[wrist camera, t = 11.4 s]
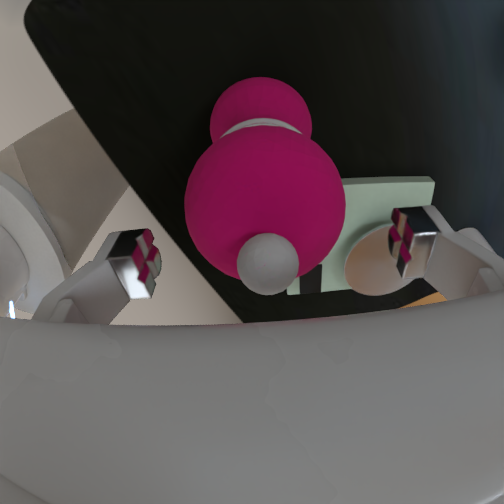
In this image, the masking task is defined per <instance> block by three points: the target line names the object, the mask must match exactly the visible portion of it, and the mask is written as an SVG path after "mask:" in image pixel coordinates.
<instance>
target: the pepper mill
mask: <svg viewBox="0 0 504 504" xmlns="http://www.w3.org/2000/svg"><path fill="white" fill-rule="evenodd" d="M311 132H312V122H311V116H310V113H309V110H308V108H307V105H306V103H305V102H304V100H303V98H302V97H301V96H300V94H299V93H298V92H297V91H296V90H294V89H293V88H292V87H291V86H289V85H288V84H286V83H284V82H282V81H279V80H276V79H272V78H266V77H254V78H249V79H245V80H242V81H239V82H237V83H236V84H234V85H232V86H230V87H229V88H228V89H227V90H226V91H225V92H223V93H222V95H221V96H220V97H219V99H218V100H217V102H216V104H215V106H214V108H213V112H212V115H211V120H210V134H211V138H212V142H213V144H212V145H211V146H210V147H209V148H208V149H207V150H206V151H205V152H204V153H203V154H202V155H201V157H200V158H199V160H198V161H197V162H196V164H195V167H194V169H193V171H192V173H191V175H190V177H189V179H188V184H187V188H186V193H185V204H184V205H185V217H186V224H187V227H188V230H189V234H190V236H191V238H192V240H193V242H194V244H195V245H196V247H197V249H198V251H199V252H200V253H201V254H202V255H203V256H204V257H205V258H206V259H207V260H208V261H209V262H210V263H211V264H212V265H213V266H214V267H216V268H217V269H219V270H220V271H222V272H223V273H225V274H227V275H229V276H232V277H235V278H237V279H240V280H242V282H243V283H244V284H245V285H246V286H247V287H248V288H249V289H250V290H252V291H254V292H256V293H259V294H263V295H273V294H276V293H279V292H282V291H284V290H285V289H286V288H287V287H289V286H290V285H291V284H292V283H293V281H294V279H295V278H297V277H299V276H301V275H303V274H306V273H307V272H309V271H310V270H311V269H313V268H314V267H315V266H317V265H318V264H319V263H321V262H322V261H323V260H324V258H325V257H326V256H327V255H328V254H329V253H330V251H331V250H332V248H333V247H334V245H335V243H336V242H337V240H338V238H339V236H340V233H341V231H342V228H343V225H344V220H345V210H346V200H345V192H344V188H343V184H342V180H341V178H340V175H339V172H338V170H337V168H336V166H335V165H334V163H333V161H332V160H331V158H330V157H329V156H328V155H327V154H326V153H325V152H324V150H323V149H322V148H321V147H320V146H319V145H318V144H317V143H315V142H314V141H312V140H311V139H310V137H311Z"/></svg>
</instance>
